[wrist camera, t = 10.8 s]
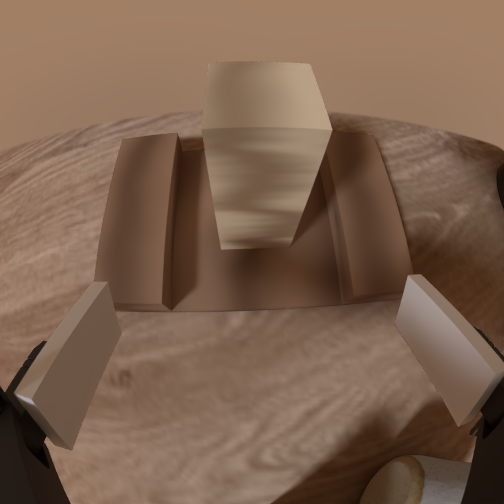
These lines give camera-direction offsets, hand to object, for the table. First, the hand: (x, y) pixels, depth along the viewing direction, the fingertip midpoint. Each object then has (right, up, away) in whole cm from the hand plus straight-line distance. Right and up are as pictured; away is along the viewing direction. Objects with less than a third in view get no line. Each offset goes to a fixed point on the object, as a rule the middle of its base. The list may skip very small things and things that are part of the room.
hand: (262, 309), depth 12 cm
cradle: (0, +5, +11) cm, 12 cm away
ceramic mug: (+11, -18, +3) cm, 21 cm away
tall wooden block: (0, +5, +10) cm, 12 cm away
